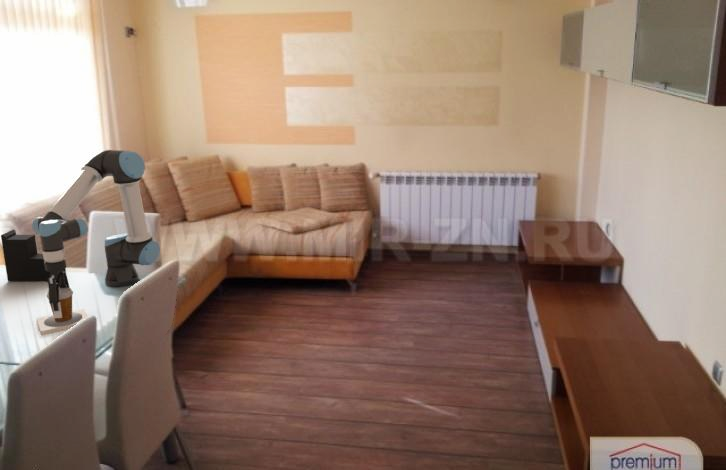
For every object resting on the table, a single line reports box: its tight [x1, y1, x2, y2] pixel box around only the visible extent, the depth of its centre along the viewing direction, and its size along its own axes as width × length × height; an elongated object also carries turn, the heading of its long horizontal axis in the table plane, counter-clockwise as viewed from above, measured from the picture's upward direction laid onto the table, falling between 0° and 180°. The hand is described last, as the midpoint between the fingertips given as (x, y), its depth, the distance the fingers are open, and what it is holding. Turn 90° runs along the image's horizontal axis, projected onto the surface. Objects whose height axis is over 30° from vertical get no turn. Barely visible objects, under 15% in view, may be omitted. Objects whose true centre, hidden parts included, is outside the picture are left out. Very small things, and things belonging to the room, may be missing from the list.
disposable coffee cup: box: [46, 287, 74, 322], centre depth 240 cm, size 10×10×12 cm
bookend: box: [0, 229, 51, 282], centre depth 291 cm, size 23×11×24 cm, turn 92°
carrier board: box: [35, 308, 89, 335], centre depth 242 cm, size 18×15×2 cm
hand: (62, 312), depth 241 cm, fingers open, 9 cm apart
